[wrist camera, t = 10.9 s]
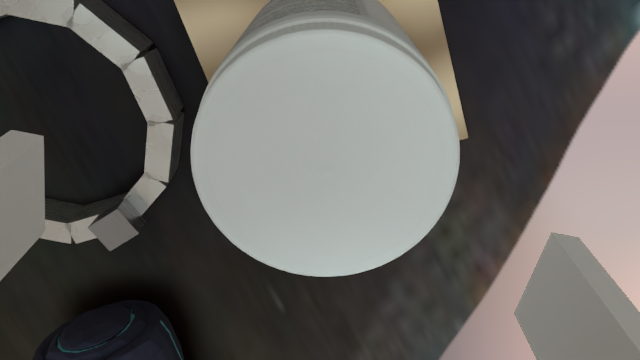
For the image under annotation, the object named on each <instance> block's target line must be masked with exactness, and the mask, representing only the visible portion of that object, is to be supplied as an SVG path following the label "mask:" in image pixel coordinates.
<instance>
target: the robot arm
mask: <svg viewBox="0 0 640 360" xmlns="http://www.w3.org/2000/svg"><path fill="white" fill-rule="evenodd" d="M44 232H45V187H44V136H41V135H36V134H31V133H25V132H20V131H15V130H10V131H9V132H7V133H6V134H4V135H3V136H1V137H0V281H1V280H2V279H3V277H4V276H5V275H6V274H7V273H8V272H9V271H10V270H11V269H12V267H13V266H14V265H15V264H16V263H17V262H18V261H19V260H20V259H21V258H22V256H23V255H24V254H25V253H26V252H27V251H28V250H29V249H30V248H31V246H32V245H33V244H34V243H35V242H36V241H37V240H38V239H39V238H40V236H41V235H42V234H43V233H44ZM514 314H515V316H516V318H517V320H518V322H519V324H520V326H521V328H522V330H523V332H524V335H525V336H526V339H527V341H528V343H529V344H530V347H531V349H532V351H533V353H534V355H535V357H536V359H537V360H640V312H639V311H638V310H637V308H636V307H635V306H634V305H633V304H632V302H631V301H630V300H629V299H628V297H627V296H626V295H625V294H624V292H623V291H622V290H621V289H620V288H619V286H618V285H617V284H616V283H615V281H614V280H613V279H612V278H611V277H610V275H609V274H608V273H607V272H606V270H605V269H604V268H603V267H602V265H601V264H600V263H599V262H598V261H597V259H596V258H595V257H594V256H593V254H592V253H591V252H590V251H589V250H588V248H587V247H586V246H585V245H584V243H583V242H582V241H581V240H580V239H579V238H578V237H573V236H568V235H562V234H557V233H551V235H550V237H549V239H548V241H547V244H546V246H545V248H544V250H543V252H542V254H541V257H540V259H539V261H538V263H537V265H536V267H535V270H534V272H533V274H532V276H531V278H530V280H529V282H528V285H527V287H526V289H525V291H524V293H523V295H522V298H521V300H520V302H519V304H518V306H517V308H516V310H515V313H514Z"/></svg>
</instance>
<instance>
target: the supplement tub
mask: <svg viewBox="0 0 640 360" xmlns="http://www.w3.org/2000/svg"><path fill="white" fill-rule="evenodd" d="M190 153H191V167H192V174H193V179H194V183H195V187H196V190H197V193H198V195H199V197H200V200H201V202H202V204H203V206H204V208H205V210H206V212H207V213H208V215H209V216H210V218H211V219H212V221H213V222H214V224H215V225H216V226H217V227H218V229H219V230H220V231H221V232H222V233H223V234H224V235H225V236H226V237H227V238H228V239H229V240H230V241H231V242H232V243H233V244H234V245H236V246H237V247H238V248H240V249H241V250H242V251H244V252H245V253H247V254H248V255H250V256H251V257H253V258H255V259H256V260H258V261H260V262H262V263H265V264H267V265H269V266H271V267H274V268H277V269H280V270H283V271H287V272H290V273H294V274H300V275H306V276H317V277H332V276H344V275H351V274H356V273H360V272H364V271H367V270H371V269H373V268H376V267H379V266H381V265H384V264H386V263H388V262H390V261H392V260H394V259H396V258H397V257H399V256H401V255H402V254H404V253H405V252H406V251H408V250H409V249H411V248H412V247H413V246H414V245H416V244H417V243H418V242H419V241H420V240H421V239H422V238H423V237H424V236H425V235H426V234H427V233H428V232H429V231H430V230H431V229H432V227H433V226H434V225H435V224H436V222H437V221H438V219H439V218H440V217H441V215H442V214H443V212H444V210H445V208H446V206H447V204H448V202H449V200H450V198H451V195H452V193H453V190H454V187H455V183H456V180H457V175H458V170H459V162H460V144H459V136H458V130H457V125H456V122H455V119H454V116H453V112H452V108H451V104H450V101H449V99H448V96H447V94H446V92H445V89H444V87H443V85H442V84H441V82H440V80H439V78H438V77H437V75H436V74H435V72H434V71H433V69H432V68H431V66H430V65H429V64H428V62H427V61H426V59H425V58H424V56H423V55H422V54H421V52H420V51H419V50H418V48H417V47H416V46H415V44H414V43H413V42H412V40H411V39H410V38H409V36H408V35H407V34H406V32H405V31H404V30H403V28H402V27H401V26H400V25H399V23H398V22H397V21H396V19H395V18H394V17H393V15H392V14H391V13H390V12H389V11H388V10H387V8H386V7H385V6H384V5H383V4H381V3H380V2H379V1H378V0H271V1H270V2H268V3H267V4H266V5H265V6H264V7H263V8H262V9H261V10H260V12H259V13H258V14H257V15H256V17H255V18H254V19H253V21H252V22H251V23H250V25H249V26H248V27H247V29H246V30H245V31H244V33H243V34H242V35H241V37H240V38H239V39H238V41H237V42H236V43H235V45H234V46H233V47H232V49H231V50H230V52H229V53H228V54H227V56H226V57H225V58H224V60H223V61H222V63H221V64H220V65H219V67H218V69H217V70H216V72H215V73H214V75H213V76H212V78H211V80H210V82H209V84H208V85H207V88H206V90H205V92H204V95H203V97H202V100H201V103H200V106H199V110H198V113H197V116H196V119H195V123H194V126H193V131H192V139H191V150H190Z"/></svg>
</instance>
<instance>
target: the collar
mask: <svg viewBox="0 0 640 360" xmlns="http://www.w3.org/2000/svg"><path fill="white" fill-rule="evenodd" d="M9 15H13V16H17V17H22V18H27V19H31V20H36V21H41V22H45V23H50V24H55V25H60V26H64V27H69V28H70V29H72V30H73V31H74V32H75V33H77V34H78V35H79V36H80V37H82V38H83V39H84V40H86V41H87V42H88V43H89V44H91V45H92V46H93V47H94V48H96V49H97V50H98V51H99V52H101V53H102V54H103V55H104V56H106V57H107V58H108V59H110V60H111V61H112V62H113V63H115V64H116V65H117V66H118V67H120V68H121V69H122V71H123V73H124V75H125V77H126V79H127V81H128V83H129V86H130V88H131V90H132V92H133V94H134V96H135V98H136V100H137V102H138V104H139V106H140V108H141V110H142V112H143V114H144V116H145V119H146V121H147V123H148V127H147V141H146V154H145V167H144V174H143V175H142V176H141V177H140V179H139V180H138V181H137V182H136V183H135V185H134V186H133V187H132V188H131V189H130V191H129V192H127V193H124V194H120V195H117V196H114V197H110V198H107V199H104V200H100V201H97V202H94V203H90V204H87V205H80V204H75V203H69V202H64V201H59V200H54V199H49V198H45V232H44V233H43V234H42V235H41V236H40V238H42V239H47V240H53V241H58V242H64V243H69V244H71V243H72V242H73V241H75V243H76V244H77V243H80V242H84V241H87V240H91V239H94V238H98V239H99V240H100V241H101V242H102V243H103V244H104V246H105V247H106V248H107V249H108V250H109V251H111V250H113V249H115V248H116V247H118V246H120V245H121V244H123V243H124V242H126V241H128V240H129V239H131V238H133V237H134V236H136V235H138V234H139V233H140V231H141V230H142V228H143V227H144V225H145V224H146V222H147V221H146V220H145V219H144V218H143V216H142V214H143V213H144V212H145V211H146V210H147V209H148V207H149V206H150V205H151V204H152V203H153V202H154V201H155V199H156V198H157V197H158V196H159V195H160V194H161V192H162V191H163V190H164V189H165V188H166V187H167V185H168V183H169V182H170V180H171V179H172V177H173V176H174V174H175V173H176V171H177V168H178V167H179V161H180V152H181V142H182V133H183V123H184V114H185V112H184V111H180V110H181V109H182V108H183V107H184V106H183V103H182V101H181V99H180V97H179V94H178V92H177V90H176V88H175V86H174V83H173V81H172V79H171V77H170V74H169V72H168V70H167V68H166V66H165V63H164V61H163V59H162V57H161V54H160V52H159V50H158V48H155V49H152V50H149V48H150V47H151V46H152V44H153V42H152V41H151V40H150V39H149V38H147V37H146V36H145V35H144V34H142V33H141V32H140V31H139V30H138V29H136V28H135V27H134V26H133V25H132V24H130V23H129V22H128V21H127V20H125V19H124V18H123V17H122V16H121V15H119V14H118V13H117V12H116V11H115V10H113V9H112V8H111V7H110V6H108V5H107V4H106V3H105V2H104V1H102V0H0V19H1V18H4V17H7V16H9ZM148 50H149V51H148Z"/></svg>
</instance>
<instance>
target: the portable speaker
mask: <svg viewBox="0 0 640 360" xmlns="http://www.w3.org/2000/svg"><path fill="white" fill-rule="evenodd" d="M33 360H184V356H183V352H182V348H181V344H180V342H179V340H178V338H177V336H176V334H175V332H174V330H173V328H172V325H171V323H170V321H169V319H168V317H167V316H166V315H165V314H164V313H163V312H162V311H161V310H160V309H159V308H158V307H157V306H156V305H155V304H152V303H150V302H148V301H142V300H135V299H132V300H122V301H119V302H115V303H112V304H109V305H105V306H102V307H99V308H96V309H92V310H89V311H86V312H84V313H82V314H80V315H79V316H77V317H75V318H73V319H71V320H70V321H68V322H66V323H64V324H63V325H61V326H60V327H59V328H58V329H56V330H55V331H54V332H53V333H51V334H50V335H49V336H48V337H47V338H45V340H44V341H43V342H42V343H41V345H40V346H39V347H38V349H37V350H36V352H35V355H34V357H33Z"/></svg>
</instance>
